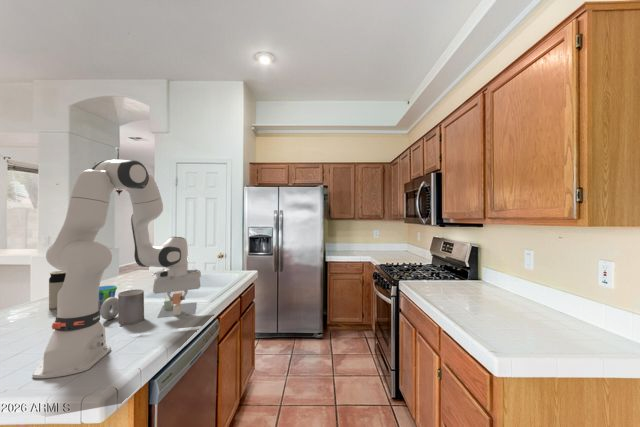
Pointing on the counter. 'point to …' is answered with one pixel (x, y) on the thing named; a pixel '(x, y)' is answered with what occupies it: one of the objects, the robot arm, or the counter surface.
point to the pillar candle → (130, 307)
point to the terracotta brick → (176, 298)
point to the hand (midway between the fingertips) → (177, 300)
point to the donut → (106, 306)
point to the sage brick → (167, 304)
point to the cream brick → (177, 309)
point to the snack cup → (106, 294)
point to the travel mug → (55, 287)
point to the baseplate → (185, 310)
